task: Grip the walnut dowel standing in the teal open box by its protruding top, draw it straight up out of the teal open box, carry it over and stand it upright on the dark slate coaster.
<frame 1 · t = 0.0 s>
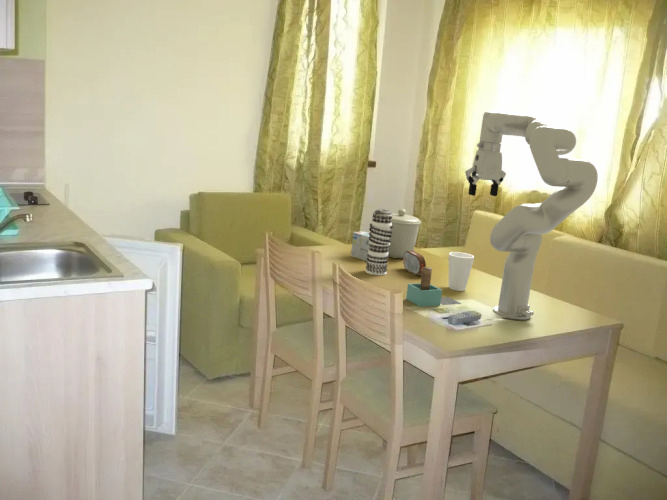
hand: (482, 195, 249), 37 cm above the table, tool pointing down, fingers open, 9 cm apart
coaster: (445, 302, 243), on the table
light bulb box: (364, 258, 297), on the table
decorative candle: (375, 272, 275), on the table
teal open box: (422, 303, 239), on the table
tin: (412, 273, 281), on the table
canister: (396, 256, 308), on the table
foam cup: (456, 288, 263), on the table
dowel: (422, 302, 238), point 1 cm above the table, touching teal open box
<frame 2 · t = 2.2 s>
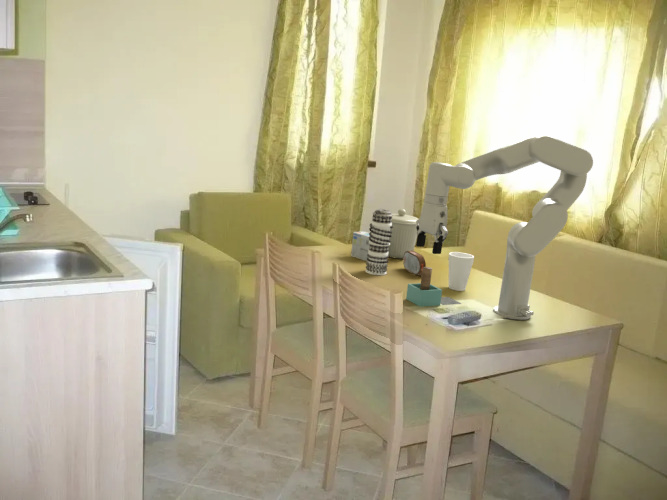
hand: (428, 250, 234), 19 cm above the table, tool pointing down, fingers open, 9 cm apart
nothing on the table moved.
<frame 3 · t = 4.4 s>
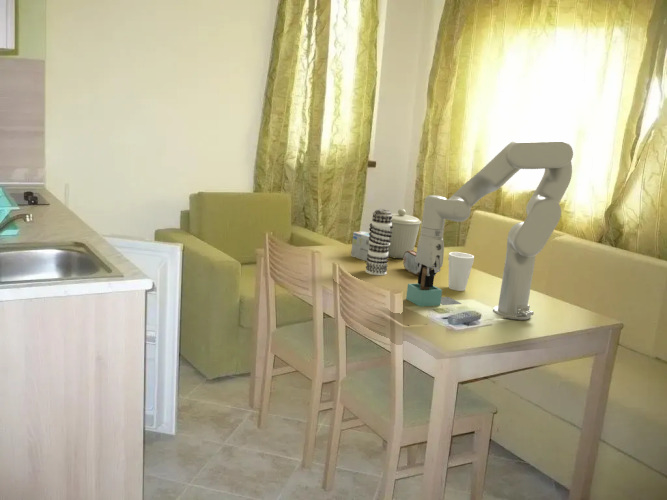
hand: (425, 284, 237), 7 cm above the table, tool pointing down, fingers closed on dowel, 3 cm apart
dowel: (422, 302, 238), point 1 cm above the table, touching teal open box, gripper
everything else where it was.
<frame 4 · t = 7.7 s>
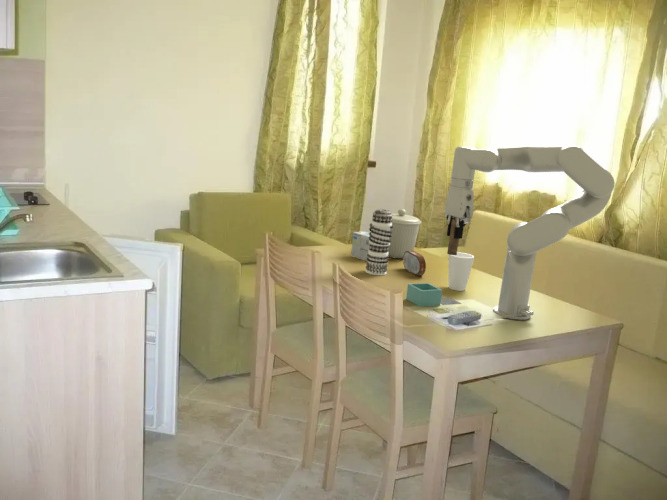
hand: (454, 236, 238), 23 cm above the table, tool pointing down, fingers closed on dowel, 3 cm apart
dowel: (451, 254, 239), point 17 cm above the table, touching gripper
everything else where it was.
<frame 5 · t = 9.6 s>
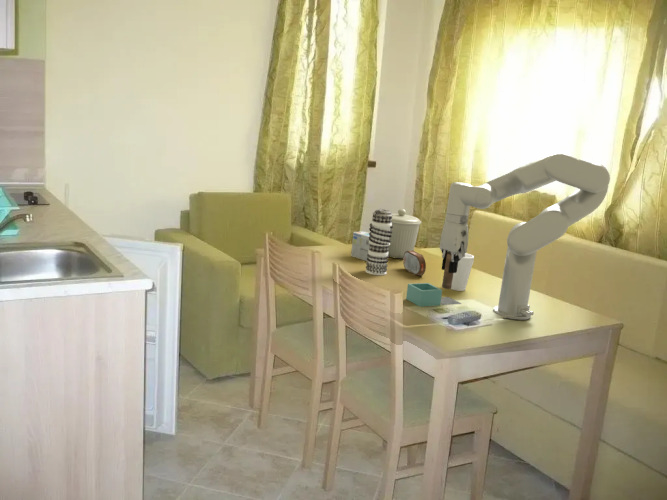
hand: (449, 270, 240), 11 cm above the table, tool pointing down, fingers closed on dowel, 3 cm apart
dowel: (446, 287, 242), point 5 cm above the table, touching gripper
everything else where it was.
when the fingers open (7 cm above the table, at t = 11.2 s): dowel stays where it is, resting on coaster.
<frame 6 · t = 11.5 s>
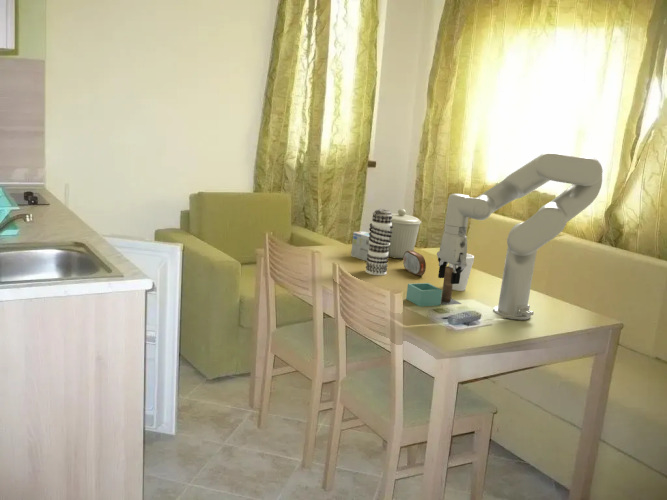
hand: (448, 280, 241), 8 cm above the table, tool pointing down, fingers open, 6 cm apart
dowel: (445, 300, 243), point 1 cm above the table, touching coaster
everything else where it was.
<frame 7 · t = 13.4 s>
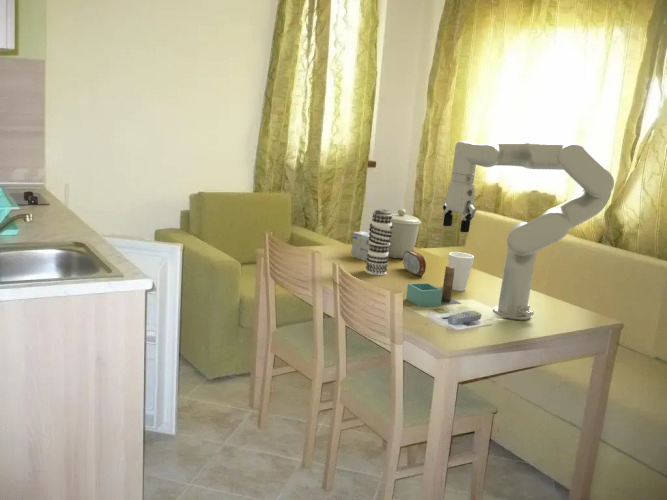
hand: (455, 228, 237), 26 cm above the table, tool pointing down, fingers open, 9 cm apart
nothing on the table moved.
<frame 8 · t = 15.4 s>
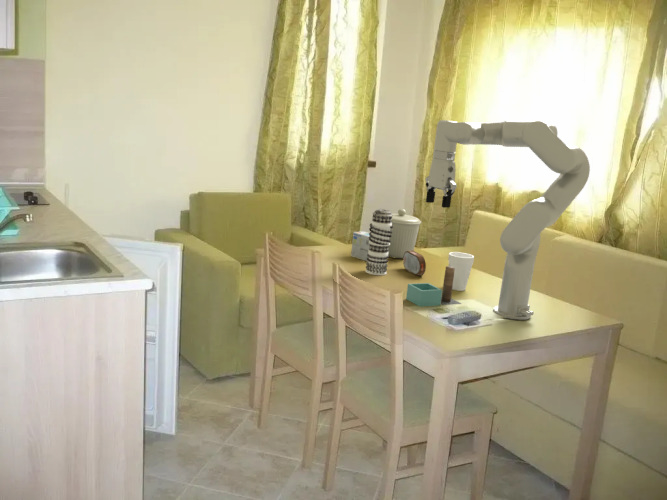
hand: (437, 204, 246), 32 cm above the table, tool pointing down, fingers open, 9 cm apart
nothing on the table moved.
at the end: dowel inside the target area on the coaster (0.0 cm from its centre), point 0.6 cm above the coaster's base; dowel tilted 0°; the gripper is holding nothing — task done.
